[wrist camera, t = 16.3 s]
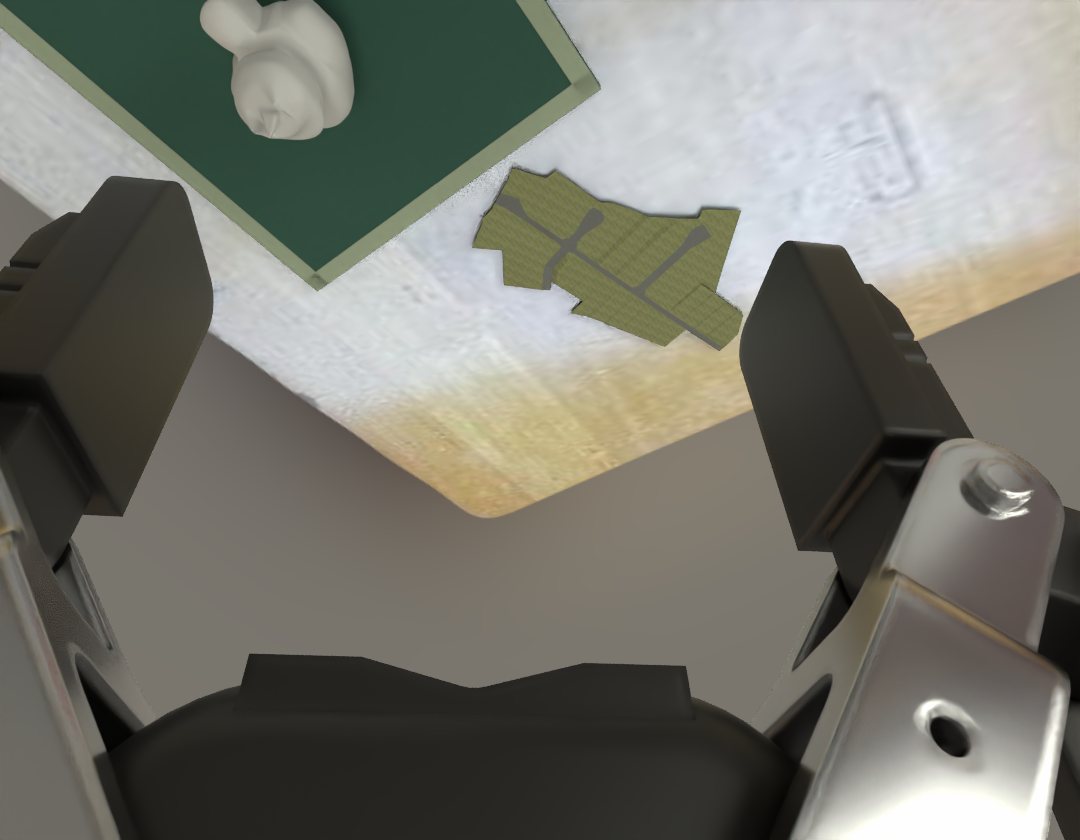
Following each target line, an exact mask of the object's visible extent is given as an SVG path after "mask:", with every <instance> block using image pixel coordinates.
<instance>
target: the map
mask: <svg viewBox="0 0 1080 840" xmlns="http://www.w3.org/2000/svg"><path fill="white" fill-rule="evenodd" d="M740 212H741V211H738V210H713V209H703V211H702V213H701V215H700V216H699V218H698V219H678V218H666V217H648V216H646V215H644V214H642V213H639V212H636V211H634V210H631V209H628V208H625V207H623V206H620V205H617V204H614V203H611V202H606V203H601V202H599V201H598V200H596V199H595V198H593V197H592V196H590V195H588V194H587V193H586V192H584V191H583V190H582V189H580V188H579V187H578V186H576V185H575V184H574V183H572V182H571V181H570V180H568V179H567V178H565V177H564V176H562V175H561V174H559V173H558V172H556V171H555V172H554V173H552V174H551V175H550V176H548V177H547V178H543V177H540V176H536V175H533V174H530V173H527V172H523V171H520V170H517V169H512V172H511V174H510V177H509V179H508V181H507V182H506V184H505V186H504V188H503V189H502V191H501V193H500V195H499V196H498V198H497V200H496V202H495V204H494V206H493V207H492V209H491V210H490V212H489V213H488V214H487V215H486V216H485V217H484V218H483V219H482V221H483V223H482V225H481V228H480V230H479V232H478V235H477V237H476V239H475V242H474V244H473V246H472V248H480V249H494V250H503V269H504V285H507V286H515V287H523V288H531V289H540V290H550V289H551V282H552V283H554V284H556V285H558V286H559V287H561V288H563V289H564V290H566V291H568V292H569V293H570V294H572V295H574V296H575V297H577V298H579V299H580V300H582V301H583V302H582V303H581V304H580V305H578V306H577V307H576V308H575V309H574V310H573V311H572V312H571V313H572V314H578V315H583V316H588V317H591V318H593V319H596V320H598V321H601V322H604V323H605V324H608V325H610V326H613V327H616V328H618V329H621V330H623V331H626V332H628V333H631V334H634V335H636V336H638V337H641V338H643V339H646V340H649V341H651V342H653V343H656V344H659V345H661V346H664V347H665V346H666V345H667V344H669V343H670V342H671V341H672V340H674V339H675V338H676V337H677V336H679V335H680V334H681V333H682V332H684V331H685V330H688V331H689V332H691V333H692V334H694V335H695V336H697V337H699V338H700V339H702V340H703V341H705V342H706V343H708V344H709V345H711V346H712V347H714V348H715V349H717V350H719V351H720V350H721V349H722V348H723V347H725V346H726V345H727V344H728V343H729V342H730V341H731V340H732V339H733V338H734V337H735V336H736V335H737V334H738V332H739V328H740V324H741V321H742V317H743V314H742V313H740V312H739V311H738V310H737V309H735V308H734V307H732V306H731V305H729V304H728V303H727V302H726V301H724V300H723V299H721V298H720V297H719V296H717V295H716V294H715V293H716V289H717V286H718V282H719V279H720V275H721V272H722V268H723V265H724V262H725V259H726V256H727V253H728V250H729V247H730V244H731V241H732V238H733V234H734V231H735V228H736V225H737V222H738V219H739V215H740ZM701 283H702V284H703V285H702V284H701ZM704 285H705V286H706V287H707V288H706V287H705V286H704ZM708 288H709V289H710V290H709V289H708ZM711 290H712V291H713V292H712V291H711ZM714 292H715V293H714Z"/></svg>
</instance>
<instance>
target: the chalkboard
mask: <svg viewBox="0 0 1080 840" xmlns="http://www.w3.org/2000/svg"><path fill="white" fill-rule="evenodd" d="M206 1H207V0H0V28H1V29H3V30H4V31H5V32H6V33H8V34H9V35H10V36H11V37H12V38H14V39H15V40H16V41H17V42H18V43H20V44H21V45H22V46H23V47H24V48H26V49H27V50H28V51H29V52H30V53H32V54H33V55H34V56H35V57H36V58H38V59H39V60H40V61H41V62H42V63H44V64H45V65H46V66H47V67H48V68H50V69H51V70H52V71H53V72H54V73H56V74H57V75H58V76H59V77H60V78H62V79H63V80H64V81H65V82H66V83H68V84H69V85H70V86H71V87H72V88H74V89H75V90H76V91H77V92H78V93H80V94H81V95H82V96H83V97H84V98H86V99H87V100H88V101H89V102H90V103H92V104H93V105H94V106H95V107H96V108H98V109H99V110H100V111H101V112H102V113H104V114H105V115H106V116H107V117H108V118H110V119H111V120H112V121H113V122H114V123H116V124H117V125H118V126H119V127H120V128H122V129H123V130H124V131H125V132H126V133H128V134H129V135H130V136H131V137H132V138H134V139H135V140H136V141H137V142H138V143H140V144H141V145H142V146H143V147H144V148H146V149H147V150H148V151H149V152H150V153H152V154H153V155H154V156H155V157H156V158H158V159H159V160H160V161H161V162H162V163H164V164H165V165H166V166H167V167H168V168H170V169H171V170H172V171H173V172H174V173H176V174H177V175H178V176H179V177H180V178H182V179H183V180H184V181H185V182H186V183H188V184H189V185H190V186H191V187H192V188H194V189H195V190H196V191H197V192H198V193H200V194H201V195H202V196H203V197H204V198H206V199H207V200H208V201H209V202H210V203H212V204H213V205H214V206H215V207H216V208H218V209H219V210H220V211H221V212H222V213H224V214H225V215H226V216H227V217H228V218H230V219H231V220H232V221H233V222H234V223H236V224H237V225H238V226H239V227H240V228H242V229H243V230H244V231H245V232H246V233H248V234H249V235H250V236H251V237H252V238H254V239H255V240H256V241H257V242H258V243H260V244H261V245H262V246H263V247H264V248H266V249H267V250H268V251H269V252H270V253H272V254H273V255H274V256H275V257H276V258H278V259H279V260H280V261H281V262H282V263H284V264H285V265H286V266H287V267H288V268H290V269H291V270H292V271H293V272H294V273H296V274H297V275H298V276H299V277H300V278H302V279H303V280H304V281H305V282H306V283H308V284H309V285H310V286H311V287H312V288H314V289H315V290H316V291H319V290H320V289H322V288H323V287H324V286H326V285H327V284H329V283H330V282H331V281H333V280H334V279H336V278H337V277H338V276H340V275H341V274H343V273H344V272H345V271H347V270H348V269H350V268H351V267H352V266H354V265H355V264H357V263H358V262H359V261H361V260H362V259H364V258H365V257H366V256H368V255H369V254H371V253H372V252H373V251H375V250H376V249H378V248H379V247H380V246H382V245H383V244H385V243H386V242H387V241H389V240H390V239H392V238H393V237H394V236H396V235H397V234H399V233H400V232H401V231H403V230H404V229H406V228H407V227H408V226H410V225H411V224H413V223H414V222H415V221H417V220H418V219H420V218H421V217H422V216H424V215H425V214H427V213H428V212H429V211H431V210H432V209H434V208H435V207H436V206H438V205H439V204H441V203H442V202H443V201H445V200H446V199H448V198H449V197H450V196H452V195H453V194H455V193H456V192H457V191H459V190H460V189H462V188H463V187H464V186H466V185H467V184H469V183H470V182H471V181H473V180H474V179H476V178H477V177H478V176H480V175H481V174H483V173H484V172H486V171H487V170H488V169H490V168H491V167H493V166H494V165H495V164H497V163H498V162H500V161H501V160H502V159H504V158H505V157H507V156H508V155H509V154H511V153H512V152H514V151H515V150H516V149H518V148H519V147H521V146H522V145H523V144H525V143H526V142H528V141H529V140H530V139H532V138H533V137H535V136H536V135H537V134H539V133H540V132H542V131H543V130H544V129H546V128H547V127H549V126H550V125H551V124H553V123H554V122H556V121H557V120H558V119H560V118H561V117H563V116H564V115H565V114H567V113H568V112H570V111H571V110H572V109H574V108H575V107H577V106H578V105H579V104H581V103H582V102H584V101H585V100H586V99H588V98H589V97H591V96H592V95H593V94H595V93H596V92H598V91H599V90H600V89H601V87H600V85H599V83H598V81H597V80H596V78H595V77H594V75H593V74H592V72H591V71H590V69H589V67H588V66H587V64H586V63H585V61H584V60H583V58H582V56H581V55H580V53H579V52H578V50H577V49H576V47H575V46H574V44H573V42H572V41H571V39H570V38H569V36H568V35H567V33H566V32H565V30H564V28H563V27H562V25H561V24H560V22H559V21H558V19H557V17H556V16H555V14H554V13H553V11H552V10H551V8H550V7H549V5H548V3H547V2H546V0H313V1H314V2H315V3H317V4H318V5H319V6H320V7H321V8H322V9H323V10H324V11H325V12H326V13H327V14H328V15H329V16H330V17H331V18H332V19H333V20H334V21H335V22H336V24H337V25H338V26H339V28H340V30H341V32H342V34H343V36H344V39H345V41H346V45H347V48H348V52H349V57H350V60H351V65H352V71H353V80H354V98H353V104H352V108H351V110H350V112H349V114H348V115H347V117H346V118H345V119H344V120H343V121H342V122H341V123H340V124H338V125H336V126H334V127H330V128H323V130H322V131H321V133H320V134H319V135H317V136H316V137H313V138H310V139H305V140H290V139H271V138H267V137H265V136H263V135H258V134H255V133H253V132H252V131H251V130H250V128H249V127H248V125H247V124H246V123H245V122H244V121H243V120H242V118H241V117H240V115H239V113H238V111H237V109H236V106H235V101H234V96H233V94H232V90H231V80H232V74H233V57H234V53H232V52H231V51H229V50H227V49H225V48H224V47H223V46H221V45H220V44H219V43H217V42H216V41H215V40H214V39H213V38H211V37H210V36H209V35H208V34H207V33H206V32H205V31H204V29H203V28H202V26H201V22H200V13H201V9H202V7H203V4H204V3H205V2H206ZM256 1H257V2H258V3H259V4H260V6H262V7H265V6H268V5H270V4H272V3H275V2H278V1H288V0H256Z"/></svg>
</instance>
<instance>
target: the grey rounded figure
mask: <svg viewBox="0 0 1080 840" xmlns="http://www.w3.org/2000/svg"><path fill="white" fill-rule="evenodd" d="M200 22H201V26H202V28H203V29H204V31H205V32H206V33H207V34H208V35H209V36H210V37H211V38H213V39H214V40H215V41H216V42H217V43H219V44H220V45H221V46H223V47H224V48H225V49H227V50H229V51H231V52H232V53H234V57H233V74H232V80H231V90H232V94H233V96H234V101H235V106H236V109H237V111H238V113H239V115H240V117H241V118H242V120H243V121H244V122H245V123H246V124H247V125H248V127H249V128H250V130H251V131H252V132H253V133H255V134H258V135H263V136H265V137H267V138H271V139H290V140H305V139H310V138H313V137H316V136H317V135H319V134H320V133H321V131H322V130H323V128H330V127H334V126H336V125H338V124H340V123H341V122H342V121H343V120H344V119H345V118H346V117H347V115H348V114H349V112H350V110H351V108H352V104H353V98H354V80H353V71H352V65H351V60H350V57H349V52H348V48H347V45H346V41H345V39H344V36H343V34H342V32H341V30H340V28H339V26H338V25H337V24H336V22H335V21H334V20H333V19H332V18H331V17H330V16H329V15H328V14H327V13H326V12H325V11H324V10H323V9H322V8H321V7H320V6H319V5H318V4H317V3H315V2H314V1H313V0H288V1H278V2H275V3H272V4H270V5H268V6H265V7H262V6H260V4H259V3H258V2H257V1H256V0H207V1H206V2H205V3H204V4H203V7H202V9H201V13H200Z"/></svg>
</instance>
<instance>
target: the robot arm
mask: <svg viewBox="0 0 1080 840" xmlns="http://www.w3.org/2000/svg"><path fill="white" fill-rule="evenodd" d="M212 314H213V287H212V282H211V278H210V274H209V271H208V267H207V263H206V260H205V256H204V253H203V249H202V246H201V242H200V238H199V235H198V231H197V228H196V224H195V221H194V217H193V213H192V210H191V206H190V203H189V200H188V197H187V194H186V192H185V190H184V189H183V187H182V186H181V185H180V184H179V183H177V182H174V181H164V180H154V179H143V178H132V177H122V176H111V177H109V178H108V179H107V180H106V181H105V182H104V183H103V185H102V186H101V187H100V188H99V190H98V191H97V192H96V194H95V195H94V196H93V197H92V199H91V200H90V201H89V203H88V204H87V205H86V206H85V208H84V209H83V210H82V212H81V213H74V212H68V213H67V214H65V215H63V216H62V217H60V218H58V219H57V220H55V221H53V222H51V223H50V224H48V225H46V226H45V227H43V228H41V229H39V230H38V231H36V232H34V233H33V234H31V236H30V237H29V238H28V239H27V240H26V242H25V243H24V244H23V245H22V247H21V248H20V249H19V250H18V251H17V252H16V254H15V255H14V256H13V257H12V258H11V260H10V267H6V266H5V267H4V268H3V269H2V270H1V272H0V840H1047V834H1048V828H1049V821H1050V816H1051V810H1053V813H1054V815H1055V817H1056V820H1057V822H1058V824H1059V827H1060V829H1061V832H1062V834H1063V837H1064V839H1065V840H1080V511H1077V510H1074V509H1071V508H1068V507H1065V506H1063V505H1062V502H1061V500H1060V497H1059V496H1058V494H1057V492H1056V491H1055V489H1054V488H1053V486H1052V485H1051V484H1050V483H1049V481H1048V480H1047V479H1046V478H1045V477H1044V476H1043V475H1042V474H1041V473H1040V472H1039V471H1038V470H1037V469H1036V468H1035V467H1033V466H1032V465H1031V464H1030V463H1028V462H1027V461H1025V460H1024V459H1022V458H1021V457H1019V456H1018V455H1016V454H1014V453H1013V452H1011V451H1009V450H1007V449H1005V448H1002V447H1000V446H998V445H995V444H992V443H989V442H986V441H982V440H977V439H974V437H973V435H972V434H971V432H970V430H969V429H968V427H967V425H966V423H965V422H964V420H963V418H962V417H961V415H960V413H959V411H958V410H957V408H956V406H955V405H954V403H953V401H952V399H951V398H950V396H949V394H948V392H947V391H946V389H945V387H944V386H943V384H942V382H941V380H940V379H939V377H938V375H937V374H936V372H935V370H934V368H933V367H932V365H931V364H929V363H926V360H927V357H926V355H925V353H924V351H923V349H922V348H921V346H920V344H919V343H918V341H914V334H913V332H912V331H911V329H910V327H909V325H908V324H907V322H906V320H905V319H904V317H903V315H902V313H901V312H900V310H899V309H898V308H897V307H896V306H895V305H894V304H893V303H892V302H891V301H889V300H888V299H887V298H886V297H885V296H884V295H883V294H882V293H880V292H879V291H878V290H877V289H876V288H875V287H874V286H873V285H872V284H864V282H863V280H862V278H861V276H860V274H859V273H858V271H857V269H856V267H855V265H854V264H853V262H852V260H851V258H850V256H849V254H848V253H847V251H846V250H845V248H843V247H842V246H840V245H832V244H821V243H810V242H800V241H786V242H784V243H783V244H782V245H781V246H780V247H779V249H778V250H777V252H776V254H775V256H774V258H773V260H772V262H771V265H770V267H769V269H768V272H767V274H766V276H765V279H764V281H763V283H762V286H761V288H760V290H759V292H758V295H757V297H756V299H755V302H754V304H753V306H752V309H751V311H750V313H749V316H748V318H747V320H746V322H745V325H744V328H743V331H742V335H741V340H740V350H739V357H740V366H741V370H742V373H743V376H744V379H745V382H746V386H747V389H748V392H749V395H750V398H751V402H752V405H753V408H754V411H755V414H756V417H757V421H758V424H759V427H760V430H761V433H762V436H763V440H764V443H765V446H766V450H767V453H768V456H769V459H770V462H771V465H772V468H773V472H774V475H775V478H776V481H777V485H778V488H779V491H780V494H781V497H782V500H783V504H784V507H785V510H786V513H787V517H788V520H789V523H790V526H791V529H792V533H793V536H794V539H795V542H796V545H797V549H798V551H819V552H833V555H834V558H835V561H836V564H837V567H836V568H835V569H834V571H833V572H832V573H831V574H830V576H829V577H828V579H827V580H826V582H825V584H824V586H823V588H822V590H821V592H820V594H819V596H818V598H817V600H816V603H815V604H814V607H813V609H812V611H811V613H810V615H809V617H808V619H807V621H806V623H805V625H804V627H803V629H802V631H801V633H800V635H799V637H798V639H797V641H796V643H795V645H794V647H793V649H792V652H791V653H790V656H789V657H788V659H787V661H786V663H785V666H784V668H783V670H782V672H781V674H780V676H779V678H778V680H777V682H776V683H775V685H774V687H773V688H772V690H771V692H770V694H769V695H768V697H767V698H766V699H765V701H764V702H763V704H762V705H761V706H760V708H759V709H758V711H757V712H756V714H755V716H754V717H753V719H752V720H751V722H750V723H749V724H748V723H746V722H744V721H743V720H741V719H739V718H737V717H736V716H734V715H732V714H730V713H729V712H727V711H725V710H723V709H721V708H719V707H716V706H714V705H712V704H709V703H707V702H705V701H703V700H700V699H697V698H694V697H691V694H690V688H689V682H688V676H687V670H686V666H668V665H634V664H630V665H629V664H598V663H582V664H578V665H574V666H570V667H566V668H561V669H557V670H553V671H549V672H545V673H541V674H536V675H532V676H529V677H524V678H520V679H516V680H511V681H507V682H503V683H499V684H495V685H491V686H487V687H482V688H468V687H463V686H459V685H456V684H452V683H449V682H445V681H442V680H439V679H435V678H432V677H428V676H425V675H422V674H418V673H415V672H411V671H408V670H405V669H401V668H398V667H395V666H391V665H388V664H384V663H381V662H378V661H374V660H371V659H367V658H363V657H348V656H313V655H277V654H276V655H275V654H249V657H248V661H247V664H246V668H245V672H244V676H243V679H242V684H241V685H240V686H236V687H232V688H228V689H224V690H222V691H219V692H216V693H213V694H210V695H208V696H205V697H202V698H199V699H196V700H194V701H192V702H190V703H188V704H186V705H184V706H182V707H180V708H178V709H175V710H173V711H171V712H169V713H167V714H165V715H164V716H162V717H160V718H159V719H157V718H156V717H155V714H154V712H153V710H152V709H151V707H150V705H149V703H148V701H147V699H146V698H145V696H144V694H143V692H142V691H141V689H140V687H139V686H138V684H137V682H136V680H135V679H134V677H133V675H132V673H131V671H130V669H129V667H128V665H127V662H126V660H125V658H124V656H123V653H122V651H121V649H120V646H119V644H118V642H117V639H116V637H115V635H114V632H113V630H112V627H111V625H110V623H109V620H108V618H107V616H106V613H105V611H104V609H103V606H102V604H101V602H100V599H99V597H98V595H97V592H96V590H95V588H94V585H93V583H92V580H91V578H90V576H89V573H88V571H87V569H86V566H85V564H84V562H83V559H82V557H81V555H80V552H79V550H78V548H77V546H76V545H75V543H74V541H73V540H72V539H71V536H72V534H73V532H74V530H75V528H76V526H77V524H78V522H79V520H80V518H81V516H82V515H100V516H123V514H124V512H125V510H126V508H127V506H128V503H129V501H130V499H131V497H132V495H133V492H134V490H135V488H136V486H137V483H138V481H139V479H140V477H141V475H142V473H143V471H144V468H145V466H146V464H147V462H148V460H149V457H150V455H151V453H152V451H153V449H154V446H155V444H156V442H157V440H158V438H159V436H160V433H161V431H162V429H163V427H164V425H165V422H166V420H167V418H168V416H169V414H170V412H171V409H172V407H173V405H174V403H175V400H176V398H177V396H178V394H179V392H180V390H181V387H182V385H183V383H184V381H185V379H186V376H187V374H188V372H189V370H190V367H191V366H192V363H193V361H194V359H195V357H196V355H197V352H198V350H199V348H200V346H201V344H202V341H203V339H204V337H205V335H206V333H207V331H208V328H209V326H210V323H211V319H212Z"/></svg>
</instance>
